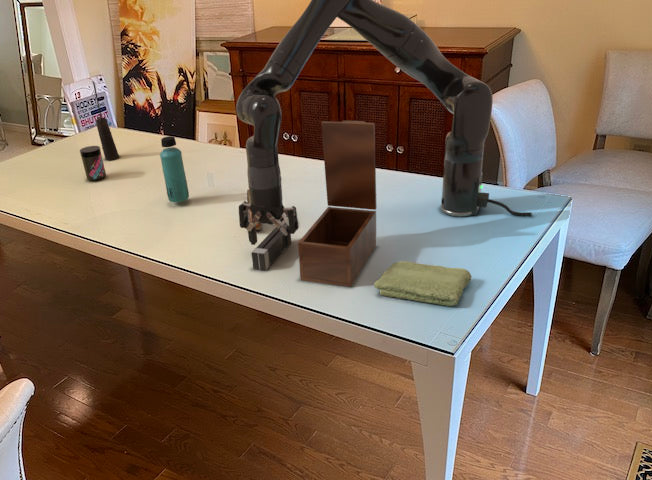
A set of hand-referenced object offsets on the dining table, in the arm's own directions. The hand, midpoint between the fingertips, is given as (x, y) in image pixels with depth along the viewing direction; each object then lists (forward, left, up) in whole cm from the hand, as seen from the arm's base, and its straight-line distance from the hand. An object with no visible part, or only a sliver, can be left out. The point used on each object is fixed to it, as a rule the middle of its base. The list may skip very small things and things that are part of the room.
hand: (270, 245), depth 150 cm
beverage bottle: (+41, -24, -3) cm, 47 cm away
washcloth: (-38, +6, -3) cm, 38 cm away
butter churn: (+91, -57, -3) cm, 107 cm away
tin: (+12, -16, -3) cm, 20 cm away
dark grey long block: (0, 0, -3) cm, 3 cm away
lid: (-17, -9, +17) cm, 26 cm away
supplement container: (+82, -37, -3) cm, 90 cm away
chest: (-17, -1, -3) cm, 18 cm away
